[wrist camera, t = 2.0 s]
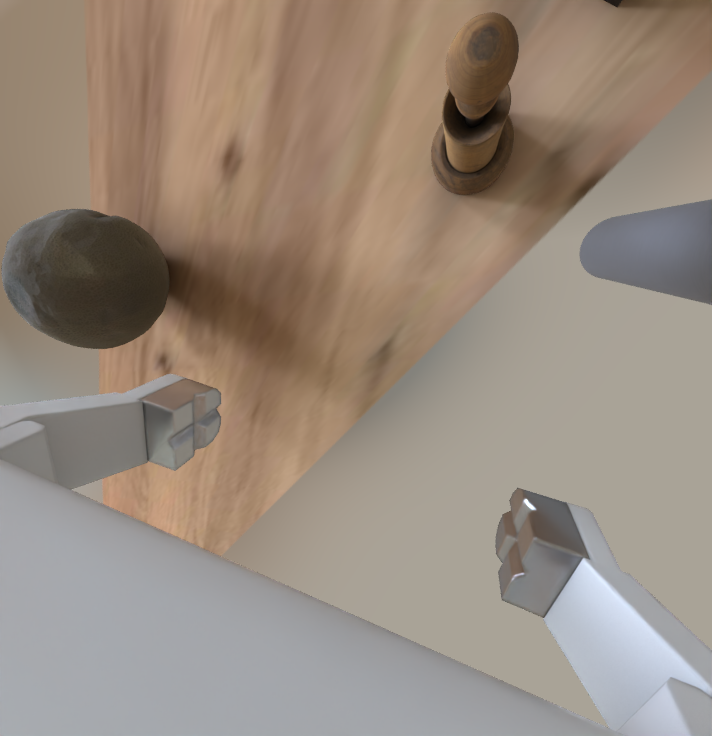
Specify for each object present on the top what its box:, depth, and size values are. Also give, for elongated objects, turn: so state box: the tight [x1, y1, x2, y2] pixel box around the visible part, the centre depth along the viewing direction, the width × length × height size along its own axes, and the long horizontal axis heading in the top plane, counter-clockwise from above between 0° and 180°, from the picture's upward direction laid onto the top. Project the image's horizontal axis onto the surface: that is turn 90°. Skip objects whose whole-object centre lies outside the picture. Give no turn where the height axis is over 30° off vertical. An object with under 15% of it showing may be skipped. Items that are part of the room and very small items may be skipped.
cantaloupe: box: [2, 209, 169, 349], centre depth 37 cm, size 14×14×15 cm
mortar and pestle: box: [431, 13, 519, 195], centre depth 22 cm, size 7×6×18 cm
